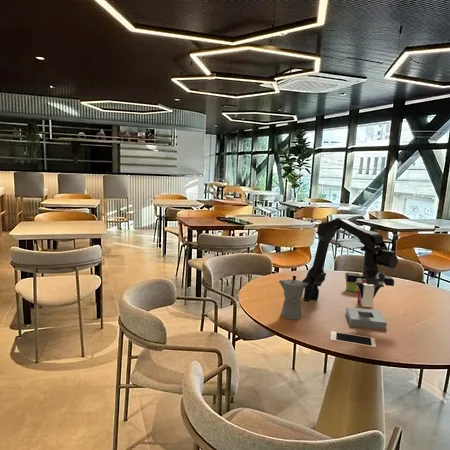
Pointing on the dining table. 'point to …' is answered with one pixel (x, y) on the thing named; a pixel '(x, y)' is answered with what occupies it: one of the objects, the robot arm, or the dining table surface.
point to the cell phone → (353, 339)
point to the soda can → (359, 293)
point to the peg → (367, 295)
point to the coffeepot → (294, 297)
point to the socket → (366, 318)
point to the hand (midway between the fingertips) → (367, 298)
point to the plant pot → (352, 284)
